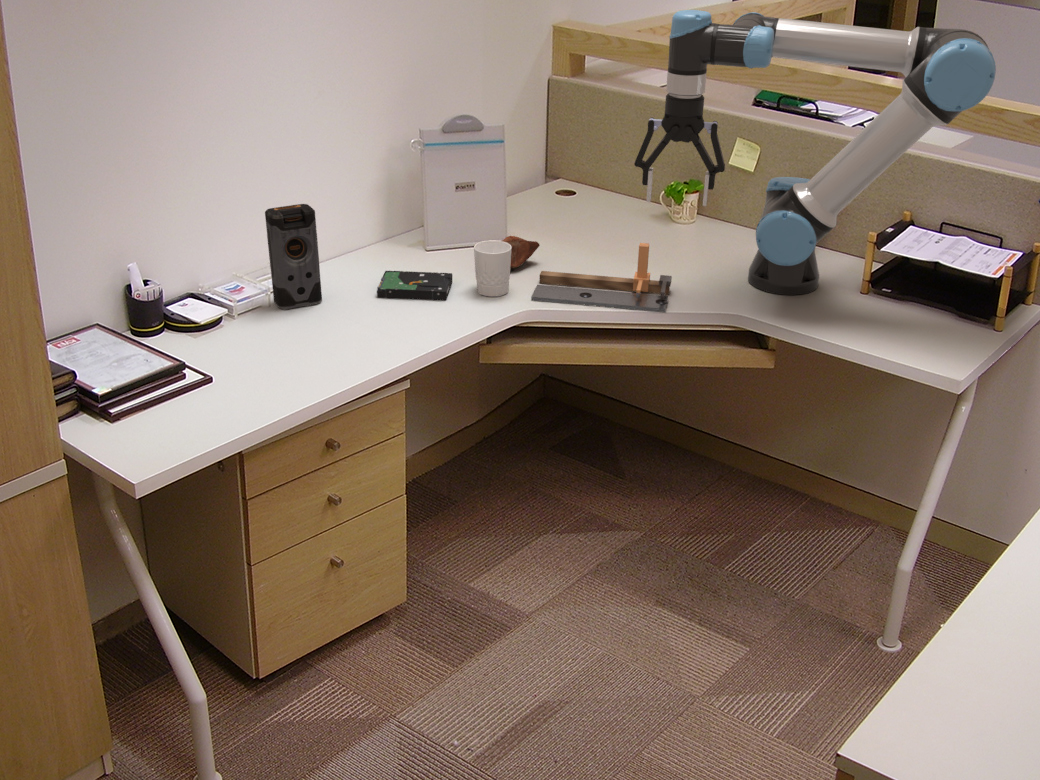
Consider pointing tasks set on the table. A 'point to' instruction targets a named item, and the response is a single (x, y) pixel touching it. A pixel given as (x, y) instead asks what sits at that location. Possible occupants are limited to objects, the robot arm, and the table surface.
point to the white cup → (492, 267)
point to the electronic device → (293, 256)
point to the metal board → (599, 298)
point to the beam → (604, 282)
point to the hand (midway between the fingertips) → (676, 202)
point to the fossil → (520, 250)
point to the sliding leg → (642, 270)
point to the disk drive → (415, 285)
